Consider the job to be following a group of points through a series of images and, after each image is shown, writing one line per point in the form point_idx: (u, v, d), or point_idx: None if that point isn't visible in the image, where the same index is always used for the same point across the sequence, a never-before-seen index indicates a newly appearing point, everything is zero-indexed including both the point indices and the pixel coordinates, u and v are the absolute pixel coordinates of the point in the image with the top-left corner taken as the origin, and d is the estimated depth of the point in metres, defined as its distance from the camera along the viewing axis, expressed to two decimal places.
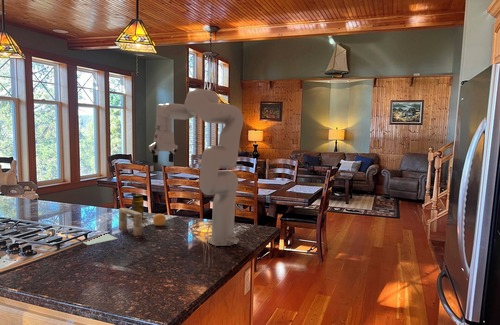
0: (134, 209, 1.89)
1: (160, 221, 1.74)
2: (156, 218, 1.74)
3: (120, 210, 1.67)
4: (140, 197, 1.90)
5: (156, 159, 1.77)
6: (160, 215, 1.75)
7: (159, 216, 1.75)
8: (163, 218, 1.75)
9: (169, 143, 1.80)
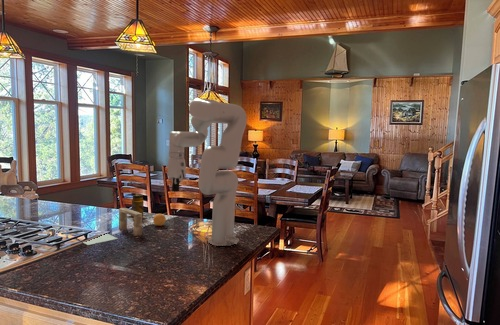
0: (134, 209, 1.89)
1: (160, 221, 1.74)
2: (156, 218, 1.74)
3: (120, 210, 1.67)
4: (140, 197, 1.90)
5: (178, 187, 1.83)
6: (160, 215, 1.75)
7: (159, 216, 1.75)
8: (163, 218, 1.75)
9: None
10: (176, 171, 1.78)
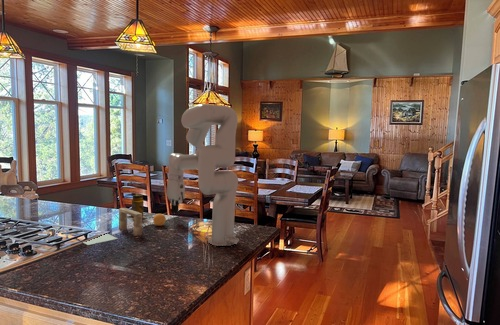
0: (134, 209, 1.89)
1: (160, 221, 1.74)
2: (156, 218, 1.74)
3: (120, 210, 1.67)
4: (140, 197, 1.90)
5: (177, 209, 1.84)
6: (160, 215, 1.75)
7: (159, 216, 1.75)
8: (163, 218, 1.75)
9: None
10: (175, 193, 1.79)
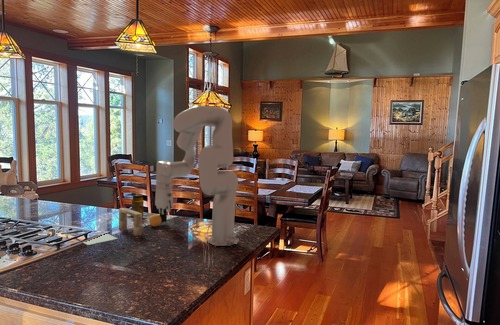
0: (134, 209, 1.89)
1: (156, 223, 1.73)
2: (151, 221, 1.73)
3: (120, 210, 1.67)
4: (140, 197, 1.90)
5: (166, 218, 1.79)
6: (154, 217, 1.73)
7: (153, 218, 1.73)
8: (158, 219, 1.73)
9: None
10: (163, 202, 1.74)
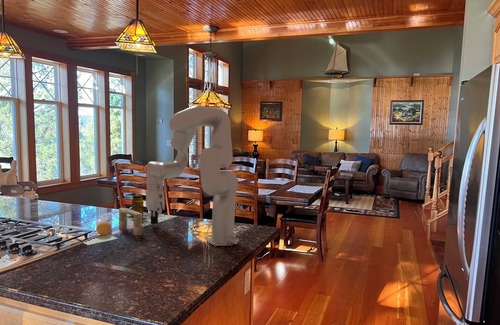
0: (134, 209, 1.89)
1: (108, 230, 1.57)
2: (107, 233, 1.58)
3: (120, 210, 1.67)
4: (140, 197, 1.90)
5: (157, 220, 1.75)
6: (102, 234, 1.56)
7: (104, 234, 1.57)
8: (103, 231, 1.55)
9: None
10: (154, 203, 1.70)
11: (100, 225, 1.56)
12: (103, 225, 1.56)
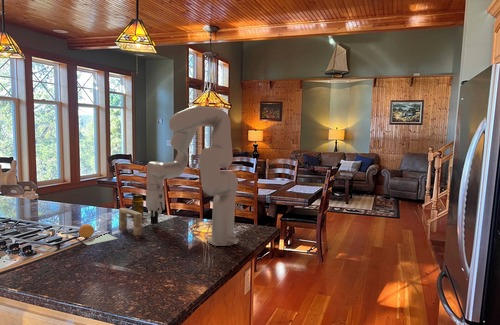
0: (134, 209, 1.89)
1: (87, 230, 1.51)
2: (88, 225, 1.52)
3: (120, 210, 1.67)
4: (140, 197, 1.90)
5: (157, 220, 1.75)
6: (93, 228, 1.53)
7: (92, 227, 1.53)
8: (91, 232, 1.52)
9: None
10: (154, 203, 1.70)
11: (87, 237, 1.52)
12: None
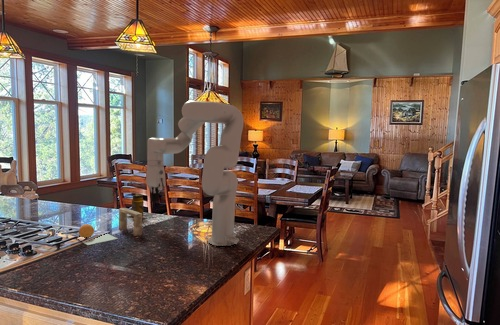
0: (134, 209, 1.89)
1: (87, 230, 1.51)
2: (88, 225, 1.52)
3: (120, 210, 1.67)
4: (140, 197, 1.90)
5: (158, 197, 1.74)
6: (93, 228, 1.53)
7: (92, 227, 1.53)
8: (91, 232, 1.52)
9: None
10: (155, 180, 1.69)
11: (87, 237, 1.52)
12: None
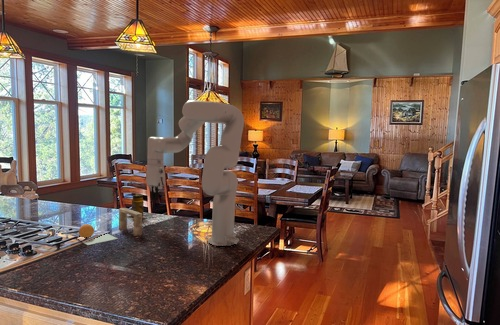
0: (134, 209, 1.89)
1: (87, 230, 1.51)
2: (88, 225, 1.52)
3: (120, 210, 1.67)
4: (140, 197, 1.90)
5: None
6: (93, 228, 1.53)
7: (92, 227, 1.53)
8: (91, 232, 1.52)
9: None
10: (154, 179, 1.69)
11: (87, 237, 1.52)
12: None
